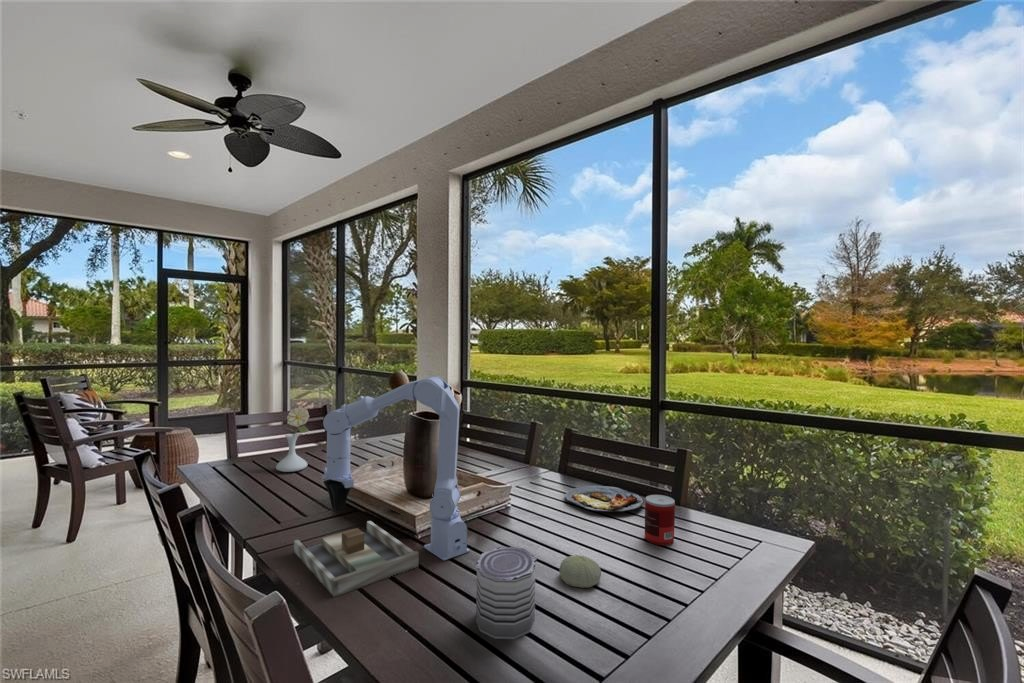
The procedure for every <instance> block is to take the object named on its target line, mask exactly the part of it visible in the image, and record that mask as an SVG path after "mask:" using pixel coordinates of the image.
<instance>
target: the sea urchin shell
mask: <svg viewBox="0 0 1024 683" xmlns="http://www.w3.org/2000/svg"><path fill="white" fill-rule="evenodd" d="M558 570H559V574H560V578H561V580H562V581H563V582H564V583H565V584H566V585H568V586H572V587H574V588H575V587H576V588H577V587H578V588H581V589H582V588H586V589H588V588H591V587H593V586H596V585H597V584H598V583H599V581H600V580H601V576H602V571H601V570H602V569H601V567H600V565H599V564H598V563H597V562H596V561H595V560H593V559H592V558H590V557H588V556H584V555H581V554H579V555H578V554H577V555H576V554H575V555H571V556H567V557H565V558H564V559H563V560H561V563H560V565H559V569H558Z"/></svg>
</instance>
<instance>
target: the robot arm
mask: <svg viewBox="0 0 1024 683" xmlns="http://www.w3.org/2000/svg"><path fill="white" fill-rule="evenodd" d="M356 399H357V400H355V401H353V402H351V403H349V404H342V405H340V408H338V409H336V410H330V411H329V412H328V413H327V414H326V415H325V416H324V418H323V422H322V424H323V425H322V426H323V428H324V430H325V431H326V467H324V469H323V470H324V472H323V474H322V475H321V478H322V479H323V480H324V481H323V484H324V486H325V488H326V491H327V493H328V497H329V502H330V504H331V507H332V509H334V511H335V512H339V511H342V510H344V509H345V508H346V507H345V506H346V503H347V499H348V496H349V493H350V491H351V489H352V488H353V487H354V486H355V485H354V484H355V483H354V482H355V481H354V480H355V479H354V478H353V476H352V472H351V429H352V427H355V426H358V425H361V424H362V423H366V422H367V421H369V420H371V419H374V418H376V417H377V416H378V414H379V411H380V410H381V409H384V408H386V407H388V406H391V405H393V404H396V403H398V402H400V401H403V400H408V401H413V402H414V401H415V400H416V401H417V402H418V403H420V404H422V405H424V406H426V407H428V408H431V410H433V411H434V412H435V413H436V414H437V415H438V416H439V427H438V428H439V429H438V445H437V446H438V450H437V467H436V468H437V469H436V479H435V480H436V481H435V485H434V489H433V490H434V492H433V495H432V497H433V498H432V500H431V502H430V505H429V511H430V543H428V544H427V543H426V544H423V548H424V549H425V550H427V551H428V552H430V553H431V554H433V555H434V556H436V557H438V558H439V559H440V560H442V561H446V560H447V561H448V560H450V559H452V558H455V557H457V556H461V555H464V554H466V553H469V552H470V548H468V526H467V524H466V523H465V522H464V521H463V519H462V518H461V515H460V514H461V513H460V510H459V506H457V504H458V503H459V502H460V499H461V491H460V489H459V484H458V481H459V480H458V477H457V465H458V450H459V449H458V447H459V431H460V429H459V428H460V409H461V408H460V405H459V403H458V401H457V399H456V398H455V395H454V394H453V392H452V390H451V388H450V385H449V384H448V382H446V381H445V380H444V379H442V377H441V376H438V375H432V376H431V375H430V376H428V377H427V378H421V379H417V380H414V381H410V382H406V383H404V384H402V385H400V386H398V387H396V388H394V389H392V390H390V391H387V392H386V393H384V394H381V395H380V396H378V397H375V398H374V397H371V396H368V395H366V396H363V395H361V396H358V397H357V398H356Z"/></svg>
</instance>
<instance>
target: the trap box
mask: <svg viewBox="0 0 1024 683" xmlns="http://www.w3.org/2000/svg"><path fill="white" fill-rule="evenodd" d="M362 532H363V533H364V550H362V551H358V552H355V553H352V554H347V553H346V552H345V551H344V550H343V549H342V532H339V533H335V534H331V535H329V536H328V535H327V536H324V537H321V543H318V544H314V545H311V546H308V547H306V545H304V544H303V543H302V542H301V541H300V540H299V539H295V540H293V553H294V554H295V556H296V555H297V556H298V557H299V558H300V559H301V560H300V559H299V558H298V557H297V556H296V557H297V558H298V559H299V560H300V561H301V562H302V564H304V566H305V565H306V566H305V567H306V568H307V569H308V570H309V572H311V574H314V575H313V576H314V577H315V578H316V579H317V581H318V582H319V583H320V584H321V583H322V584H321V585H322V586H323V587H324V588H325V589H326V590H327V591H328V593H330V595H331V596H332V598H335V597H339V596H341V595H344V594H347V593H350V592H353V591H355V589H356V590H358V589H361V588H364V587H367V586H369V585H368V584H370V585H372V584H375V583H377V581H378V582H380V580H381V581H384V580H387V579H389V578H392V577H394V576H393V575H395V576H397V575H396V574H398V575H400V574H399V573H401V572H403V573H406V572H408V570H409V571H411V570H410V569H412V570H414V569H413V568H415V569H417V568H419V563H420V562H419V561H420V560H419V557H420V556H419V555H420V554H419V551H417V550H415V551H414V550H413V549H412V548H410V547H409V546H407V545H406V544H404V542H402V541H400V540H399V539H397V538H396V537H394V536H393V535H391V533H389V532H387V531H386V530H384V529H383V528H382V527H380V526H379V525H377V524H375V523H374V522H373V521H372V520H367V521H366V531H362ZM416 567H417V568H416ZM405 571H406V572H405ZM401 574H402V573H401ZM391 576H392V577H391ZM383 579H384V580H383ZM374 582H375V583H374ZM371 583H372V584H371ZM366 585H367V586H366ZM363 586H364V587H363Z"/></svg>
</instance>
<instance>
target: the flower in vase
mask: <svg viewBox="0 0 1024 683" xmlns="http://www.w3.org/2000/svg"><path fill="white" fill-rule="evenodd" d="M309 414H310V413H309V410H308V409H306V408H304V407H300V406H299V407H297V408H296V407H294V409H291V410H290V412H288V415H286V420H287V423H288V425H289V426H292V427H293V426H294V427H295V428H297V429H296V430H295V431H294V430H293V429H291V428H288V427H286V426H285V428H286V429H287V430H290V431H292V432H294V433H289V434H285V435H284V436H285V438H286V440H287V442H288V452H287V455H286V456H285V457H283V458H282V459H281V460H280V461H279V462H278V463H277V464H276V466H275V469H276V470H277V471H279V472H284V473H287V472H288V473H291V472H298V471H301V470H304V469H305V468H306V467H307V466H308V462H307V461H306V460H305V459H304V458H303V457H301V456H299V455H298V454H297V453H296V444H297V443H296V442H297V439H298V438H299V436H300V434H298V433H297V431H298V432H300V433H301V434H302V433H303V434H304V433H307V432H309V431H310V430H309V429H308V428H307V427H306V426H305V425H306V423H307V421H309V418H310V415H309Z"/></svg>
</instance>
